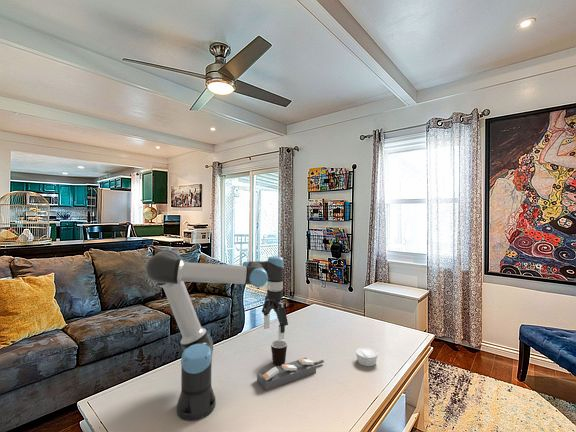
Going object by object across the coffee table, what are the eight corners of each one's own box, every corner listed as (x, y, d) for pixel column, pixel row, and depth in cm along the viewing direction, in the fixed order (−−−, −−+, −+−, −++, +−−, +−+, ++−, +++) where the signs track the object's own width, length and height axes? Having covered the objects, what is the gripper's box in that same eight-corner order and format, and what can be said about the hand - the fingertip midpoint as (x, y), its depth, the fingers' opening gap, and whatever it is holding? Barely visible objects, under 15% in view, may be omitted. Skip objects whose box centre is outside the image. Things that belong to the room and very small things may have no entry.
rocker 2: (284, 370, 133) (285, 367, 133) (281, 366, 136) (282, 364, 136) (296, 370, 137) (297, 367, 137) (293, 367, 139) (293, 364, 140)
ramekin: (351, 362, 152) (352, 352, 152) (362, 354, 160) (362, 345, 160) (371, 370, 144) (371, 360, 144) (381, 361, 153) (381, 352, 152)
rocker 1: (266, 380, 128) (265, 378, 128) (263, 377, 131) (262, 374, 131) (279, 371, 132) (278, 369, 131) (275, 368, 134) (275, 366, 134)
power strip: (265, 390, 127) (265, 381, 127) (256, 380, 135) (257, 371, 134) (328, 368, 146) (328, 359, 146) (317, 360, 153) (317, 352, 153)
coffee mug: (285, 368, 145) (285, 348, 145) (268, 366, 147) (268, 347, 147) (289, 356, 157) (289, 338, 156) (274, 354, 158) (274, 337, 158)
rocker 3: (302, 364, 138) (303, 361, 139) (298, 361, 141) (299, 358, 141) (313, 364, 142) (314, 362, 142) (309, 361, 145) (310, 359, 145)
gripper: (296, 295, 127) (295, 342, 128) (268, 282, 148) (267, 322, 149) (282, 297, 123) (281, 346, 124) (255, 284, 144) (254, 325, 144)
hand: (273, 333), depth 136 cm, fingers open, 13 cm apart
